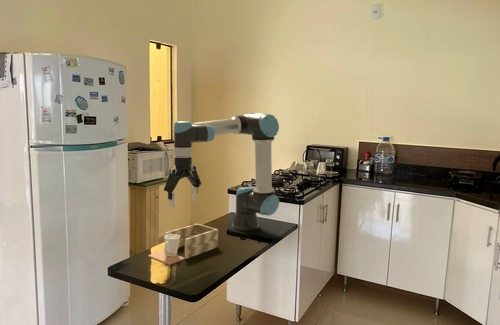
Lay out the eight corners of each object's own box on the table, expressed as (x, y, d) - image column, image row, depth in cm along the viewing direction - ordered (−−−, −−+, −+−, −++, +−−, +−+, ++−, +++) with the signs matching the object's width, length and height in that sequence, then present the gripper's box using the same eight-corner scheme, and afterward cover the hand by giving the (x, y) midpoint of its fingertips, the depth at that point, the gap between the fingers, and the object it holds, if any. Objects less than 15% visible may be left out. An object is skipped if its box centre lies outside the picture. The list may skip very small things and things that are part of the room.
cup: (182, 252, 172) (183, 234, 171) (172, 260, 162) (172, 242, 161) (168, 250, 174) (168, 233, 173) (157, 258, 164) (157, 239, 163)
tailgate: (164, 249, 174) (148, 255, 167) (185, 257, 166) (169, 263, 159) (164, 252, 174) (148, 257, 167) (185, 260, 166) (169, 266, 159)
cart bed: (196, 242, 191) (197, 223, 189) (217, 249, 182) (218, 229, 181) (165, 253, 175) (165, 232, 174) (186, 261, 166) (186, 239, 165)
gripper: (197, 153, 182) (197, 197, 185) (154, 158, 162) (155, 207, 165) (208, 154, 177) (208, 199, 180) (166, 160, 157) (167, 210, 160)
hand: (183, 203), depth 173 cm, fingers open, 13 cm apart
